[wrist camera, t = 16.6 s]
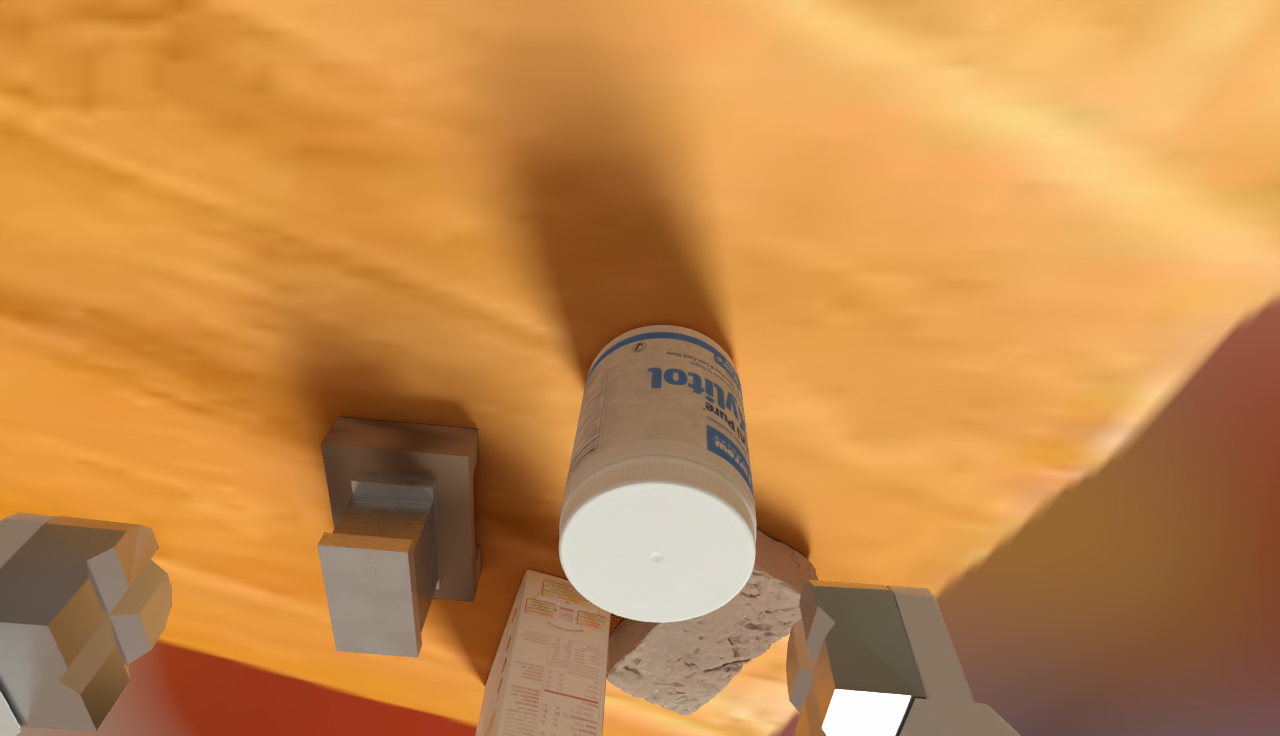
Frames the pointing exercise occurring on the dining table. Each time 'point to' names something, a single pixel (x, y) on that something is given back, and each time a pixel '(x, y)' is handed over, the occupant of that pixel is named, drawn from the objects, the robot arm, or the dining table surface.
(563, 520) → the supplement tub
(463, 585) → the stand
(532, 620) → the coffeecake box
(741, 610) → the brick
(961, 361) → the dining table surface
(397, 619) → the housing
